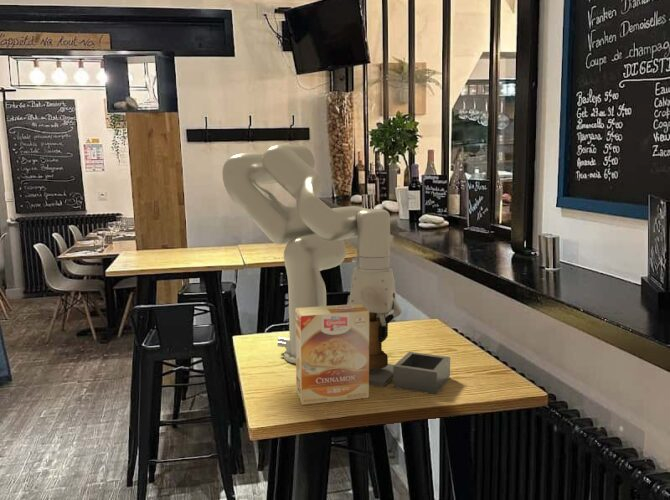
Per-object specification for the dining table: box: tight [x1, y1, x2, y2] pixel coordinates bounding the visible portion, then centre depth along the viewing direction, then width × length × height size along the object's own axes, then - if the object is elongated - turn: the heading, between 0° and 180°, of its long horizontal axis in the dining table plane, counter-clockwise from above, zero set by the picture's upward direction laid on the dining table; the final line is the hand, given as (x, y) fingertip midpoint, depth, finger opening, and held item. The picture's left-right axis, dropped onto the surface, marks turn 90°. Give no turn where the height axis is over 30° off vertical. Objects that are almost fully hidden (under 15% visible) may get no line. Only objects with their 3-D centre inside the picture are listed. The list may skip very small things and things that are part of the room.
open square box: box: [392, 351, 451, 395], centre depth 143 cm, size 10×11×5 cm
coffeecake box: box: [295, 304, 370, 406], centre depth 135 cm, size 15×7×20 cm, turn 103°
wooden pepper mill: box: [369, 313, 389, 369], centre depth 147 cm, size 7×6×18 cm
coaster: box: [369, 363, 395, 387], centre depth 148 cm, size 10×12×1 cm
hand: (373, 338), depth 147 cm, fingers closed on wooden pepper mill, 3 cm apart
